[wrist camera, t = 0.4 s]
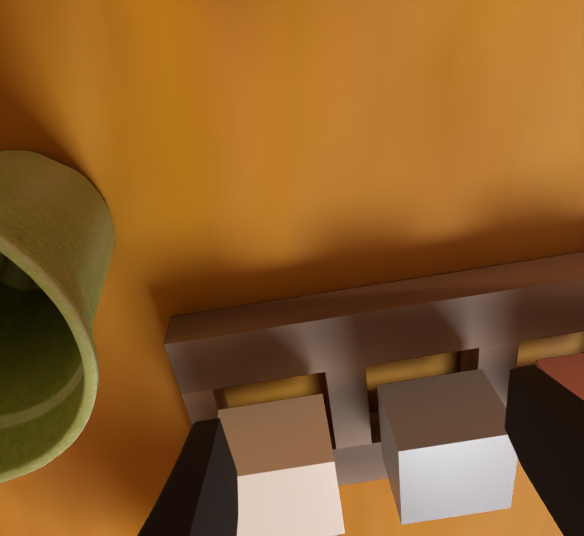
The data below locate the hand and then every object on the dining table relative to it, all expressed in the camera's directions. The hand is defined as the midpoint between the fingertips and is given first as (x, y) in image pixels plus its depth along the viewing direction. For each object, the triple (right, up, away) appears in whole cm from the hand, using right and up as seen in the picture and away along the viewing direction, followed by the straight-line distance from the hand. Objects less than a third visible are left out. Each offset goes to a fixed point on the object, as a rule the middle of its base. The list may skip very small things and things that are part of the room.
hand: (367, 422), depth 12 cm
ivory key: (-2, -4, +10) cm, 11 cm away
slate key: (+4, -3, +10) cm, 11 cm away
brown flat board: (+4, -1, +13) cm, 13 cm away
